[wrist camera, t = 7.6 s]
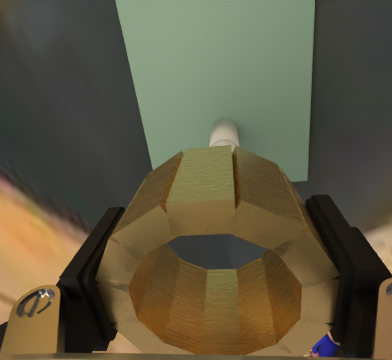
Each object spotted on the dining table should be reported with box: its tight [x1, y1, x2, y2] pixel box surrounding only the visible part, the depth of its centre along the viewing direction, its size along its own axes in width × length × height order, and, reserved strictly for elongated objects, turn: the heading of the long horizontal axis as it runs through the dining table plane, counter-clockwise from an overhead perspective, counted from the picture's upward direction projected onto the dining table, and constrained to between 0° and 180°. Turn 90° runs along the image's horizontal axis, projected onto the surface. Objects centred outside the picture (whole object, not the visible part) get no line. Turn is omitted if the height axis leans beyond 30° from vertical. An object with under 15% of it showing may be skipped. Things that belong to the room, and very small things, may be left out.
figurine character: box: [312, 331, 357, 358], centre depth 43 cm, size 7×8×15 cm
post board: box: [116, 0, 315, 182], centre depth 24 cm, size 30×18×10 cm, turn 8°
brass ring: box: [95, 145, 340, 357], centre depth 10 cm, size 7×7×4 cm
